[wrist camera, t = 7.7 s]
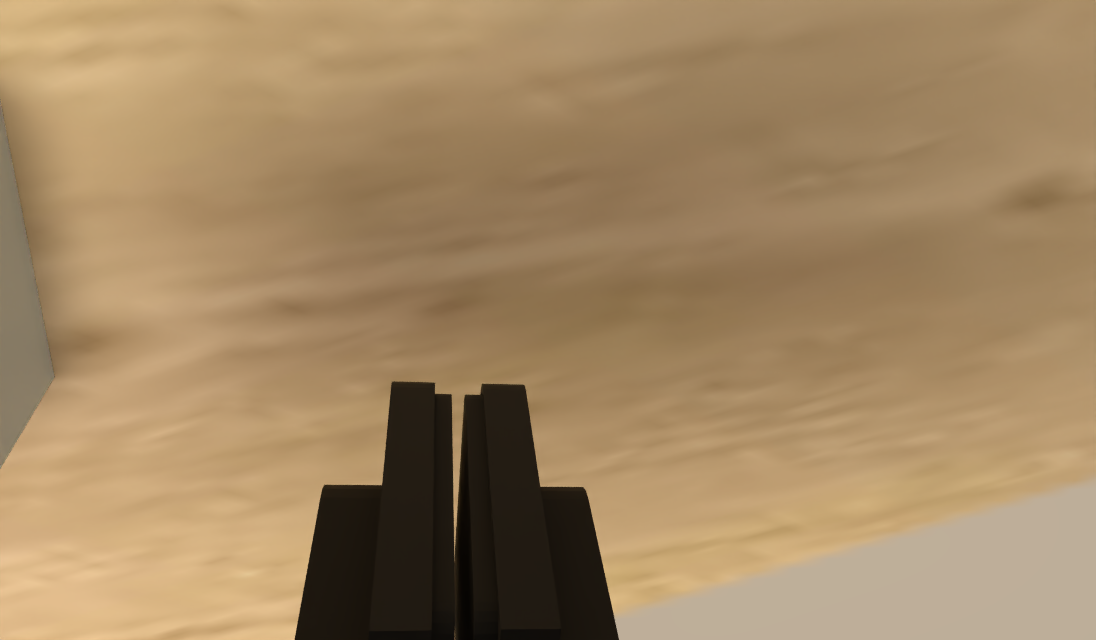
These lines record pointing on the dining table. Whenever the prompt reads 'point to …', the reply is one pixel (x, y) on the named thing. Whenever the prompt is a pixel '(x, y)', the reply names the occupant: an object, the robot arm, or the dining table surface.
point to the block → (18, 315)
